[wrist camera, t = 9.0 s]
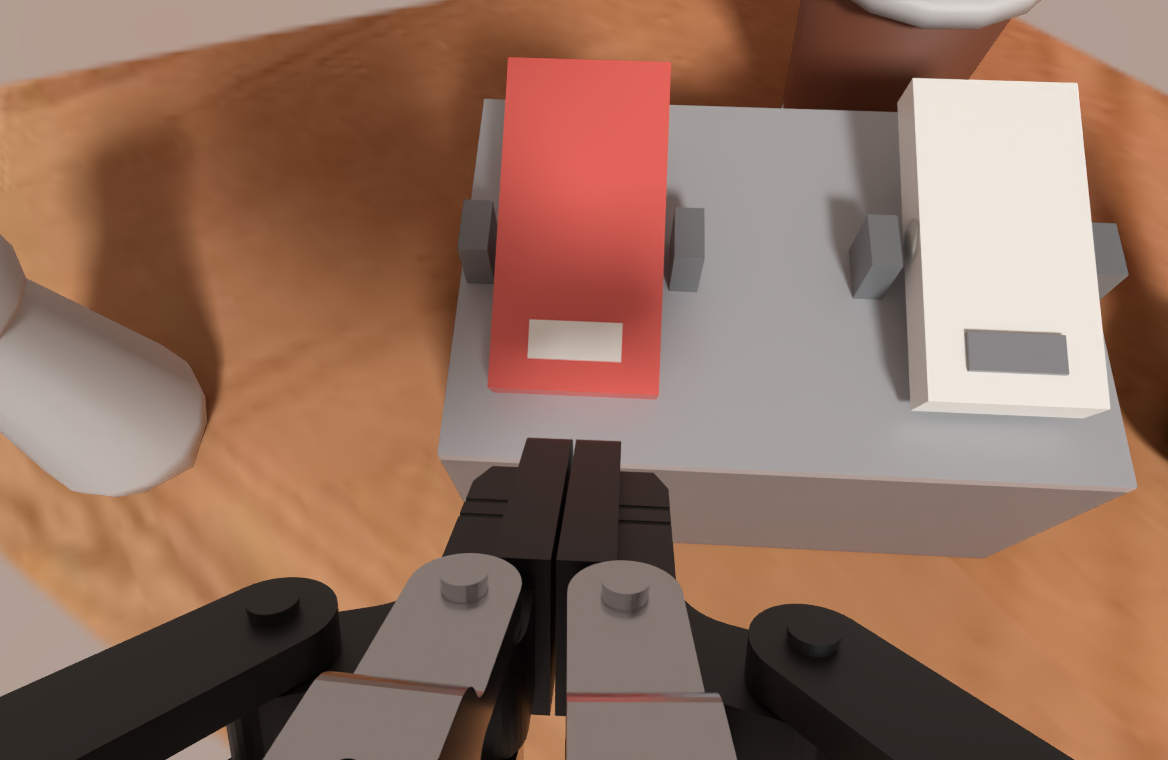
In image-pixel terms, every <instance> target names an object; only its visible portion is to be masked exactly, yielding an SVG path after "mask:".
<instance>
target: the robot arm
mask: <svg viewBox="0 0 1168 760" xmlns="http://www.w3.org/2000/svg"><path fill="white" fill-rule="evenodd" d="M620 464H621V441H605V440H580V439H576V443H575V449H574V455H573V439H552V438H527V439H526V442H525V446H524V449H523V452H522V456H521V459H520V462H519V466H518V467H505V466H492V467H490V468H489V469H488V470H486V471H485V472H484V473H483V474H481V475H480V476H479V477H477V478H476V479H475V480H473V482H472V485H471V487H470V490H469V492H468V495H467V497H466V502H464V504H463V507H462V509H461V512H460V516H459V517H458V519H457V522H456V524H455V527H454V529H453V531H452V534H451V536H450V539H449V541H448V544H447V546H446V549H445V551H444V554H443V556H442V557H441V558H438V559H435V560H433V561H431V562H429V563H427V564H425V565H423V566H422V567H420V568H419V569H418V570H416V571H415V572H414V573H413V574H412V576H411V577H410V578H409V580H408V582H407V583H406V585H405V587H404V588H403V590H402V592H401V594H400V595H399V597H398V599H397V600H396V601H394V602H391V603H388V604H384V605H379V606H373V607H367V608H360V609H354V610H347V611H341V612H339V611H338V602H337V597H336V595H335V593H334V592H333V590H332V589H331V588H330V587H328V586H327V585H325V584H323V583H322V582H319V581H316V580H312V579H308V578H299V577H286V578H277V579H271V580H266V581H262V582H259V583H256V584H253V585H250V586H248V587H245V588H243V589H240V590H238V591H236V592H234V593H232V594H229V595H227V596H225V597H223V598H220V599H218V600H216V601H214V602H211V603H209V604H207V605H205V606H202V607H200V608H198V609H196V610H193V611H191V612H189V613H187V614H185V615H182V616H180V617H178V618H176V619H173V620H171V621H169V622H167V623H164V624H162V625H160V626H158V627H155V628H153V629H151V630H149V631H147V632H144V633H142V634H140V635H138V636H135V637H133V638H131V639H129V640H126V641H124V642H122V643H120V644H117V645H115V646H113V647H111V648H108V649H106V650H104V651H102V652H100V653H98V654H95V655H93V656H91V657H88V658H86V659H84V660H82V661H79V662H77V663H75V664H73V665H70V666H68V667H66V668H64V669H62V670H59V671H57V672H55V673H53V674H50V675H48V676H46V677H44V678H41V679H39V680H37V681H35V682H32V683H30V684H28V685H26V686H24V687H21V688H19V689H17V690H15V691H12V692H10V693H8V694H6V695H3V696H1V697H0V760H166V759H168V758H169V757H171V756H173V755H175V754H176V753H178V752H180V751H182V750H184V749H185V748H187V747H189V746H191V745H192V744H194V743H196V742H198V741H199V740H201V739H203V738H205V737H207V736H208V735H210V734H212V733H214V732H216V731H217V730H219V729H221V728H223V727H224V726H226V727H227V733H228V739H229V745H230V751H231V758H230V759H228V760H524V758H523V743H524V741H525V740H526V737H527V733H528V729H529V723H530V716H531V714H532V715H550V711H551V704H552V697H553V689H554V682H555V716H566V739H565V760H1074V759H1072V758H1071V757H1069V756H1067V755H1066V754H1064V753H1063V752H1061V751H1060V750H1058V749H1056V748H1055V747H1053V746H1052V745H1050V744H1048V743H1047V742H1045V741H1044V740H1042V739H1041V738H1039V737H1037V736H1036V735H1034V734H1033V733H1031V732H1029V731H1028V730H1026V729H1025V728H1023V727H1022V726H1020V725H1018V724H1017V723H1015V722H1014V721H1012V720H1010V719H1009V718H1007V717H1006V716H1004V715H1002V714H1001V713H999V712H998V711H996V710H995V709H993V708H991V707H990V706H988V705H987V704H985V703H983V702H982V701H980V700H979V699H977V698H976V697H974V696H972V695H971V694H969V693H968V692H966V691H964V690H963V689H961V688H960V687H958V686H957V685H955V684H953V683H952V682H950V681H949V680H947V679H945V678H944V677H942V676H941V675H939V674H938V673H936V672H934V671H933V670H931V669H930V668H928V667H926V666H925V665H923V664H922V663H920V662H919V661H917V660H915V659H914V658H912V657H911V656H909V655H907V654H906V653H904V652H903V651H901V650H900V649H898V648H896V647H895V646H893V645H892V644H890V643H888V642H887V641H885V640H884V639H882V638H880V637H879V636H877V635H876V634H874V633H873V632H871V631H869V630H868V629H866V628H865V627H863V626H861V625H860V624H858V623H857V622H855V621H854V620H852V619H850V618H848V617H846V616H845V615H843V614H840V613H838V612H836V611H833V610H830V609H827V608H823V607H819V606H814V605H807V604H785V605H779V606H774V607H771V608H769V609H766V610H764V611H763V612H761V613H759V614H758V615H757V616H756V617H755V618H754V619H753V621H752V622H751V624H750V627H749V630H748V629H744V628H740V627H736V626H733V625H729V624H726V623H722V622H719V621H716V620H714V619H712V618H709V617H707V616H705V615H704V614H702V613H700V612H698V611H697V610H696V609H694V608H693V607H691V606H690V605H689V604H688V603H687V602H686V601H685V600H684V596H683V592H682V589H681V586H680V585H679V584H678V582H677V581H676V575H675V563H674V551H673V539H672V526H671V514H670V502H669V490H668V488H667V487H666V486H665V485H664V483H663V482H662V481H661V480H660V479H659V478H658V477H657V476H656V475H655V474H654V473H650V472H626V471H620Z"/></svg>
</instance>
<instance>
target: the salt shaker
mask: <svg viewBox="0 0 1168 760" xmlns="http://www.w3.org/2000/svg"><path fill="white" fill-rule="evenodd" d="M206 424H207V414H206V400H205V395H204V393H203V391H202V389H201V387H200V385H199V383H198V381H197V379H196V377H195V375H194V373H193V371H192V369H191V367H190V366H189V364H188V363H187V362H186V361H185V360H183V359H182V358H180V357H179V356H177V355H176V354H174V353H173V352H172V351H170V350H169V349H167V348H166V347H164V346H163V345H161V344H159V343H157V342H155V341H153V340H151V339H149V338H147V337H145V336H143V335H141V334H139V333H137V332H135V331H133V330H131V329H129V328H127V327H125V326H123V325H121V324H118V323H116V322H114V321H112V320H110V319H108V318H106V317H104V316H102V315H100V314H98V313H96V312H94V311H92V310H90V309H88V308H86V307H84V306H82V305H80V304H78V303H76V302H74V301H72V300H70V299H68V298H65V297H63V296H61V295H59V294H57V293H55V292H53V291H51V290H49V289H47V288H45V287H43V286H41V285H39V284H37V283H35V282H33V281H31V280H29V279H27V278H26V277H25V275H24V272H23V270H22V268H21V265H20V263H19V260H18V258H17V256H16V253H15V251H14V249H13V247H12V245H11V244H10V243H9V242H7V241H6V240H5V239H4V238H3V237H2V236H1V235H0V432H1V433H2V434H3V435H4V436H5V437H6V438H8V439H9V440H10V441H11V442H12V443H13V444H14V445H16V446H17V447H18V448H19V449H20V450H21V451H22V452H24V453H25V454H26V455H27V456H28V457H29V458H30V459H32V460H33V461H34V462H35V463H36V464H37V465H38V466H40V467H41V468H42V469H43V470H44V471H45V472H47V473H48V474H50V475H51V476H52V477H54V478H55V479H57V480H58V481H59V482H61V483H62V484H63V485H65V486H66V487H68V488H69V489H70V490H72V491H76V492H80V493H86V494H95V495H104V496H113V497H119V496H125V495H131V494H136V493H142V492H147V491H149V490H151V489H153V488H155V487H156V486H158V485H160V484H162V483H164V482H166V481H167V480H169V479H171V478H173V477H175V476H177V475H179V474H180V473H182V472H184V471H186V470H188V469H190V468H192V467H193V465H194V461H195V458H196V455H197V452H198V449H199V446H200V443H201V439H202V436H203V433H204V430H205V427H206Z"/></svg>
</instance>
